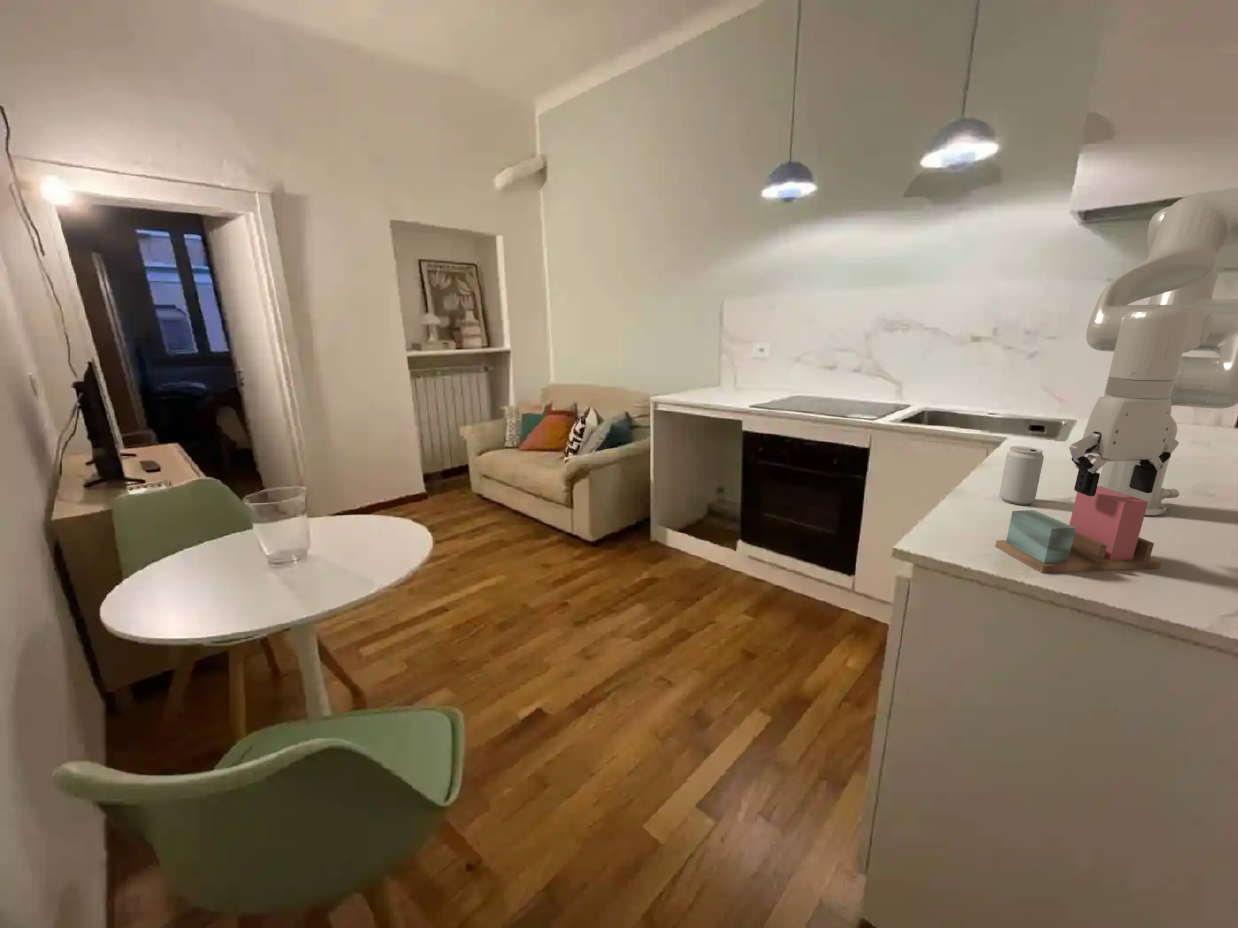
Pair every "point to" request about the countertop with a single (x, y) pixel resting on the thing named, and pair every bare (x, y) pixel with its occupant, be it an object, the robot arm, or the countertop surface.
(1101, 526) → the dusty red block
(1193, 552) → the countertop surface
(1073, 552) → the rack
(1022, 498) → the beverage can
